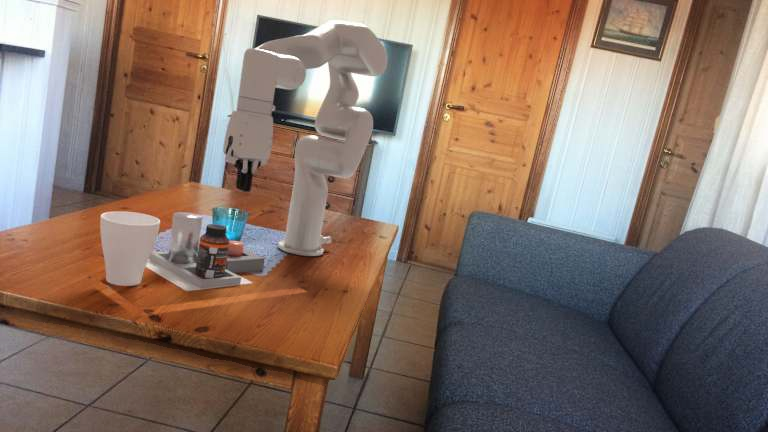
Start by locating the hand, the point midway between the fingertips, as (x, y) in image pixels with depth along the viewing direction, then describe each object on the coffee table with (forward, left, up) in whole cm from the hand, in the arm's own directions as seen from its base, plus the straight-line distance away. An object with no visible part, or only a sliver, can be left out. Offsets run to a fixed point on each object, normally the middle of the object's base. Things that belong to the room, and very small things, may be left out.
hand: (242, 189), depth 138 cm
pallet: (+11, +2, -19) cm, 22 cm away
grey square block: (0, 0, -19) cm, 19 cm away
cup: (+27, +3, -19) cm, 33 cm away
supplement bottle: (+11, +7, -18) cm, 22 cm away
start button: (0, 0, -15) cm, 15 cm away
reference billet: (+11, -3, -18) cm, 21 cm away
